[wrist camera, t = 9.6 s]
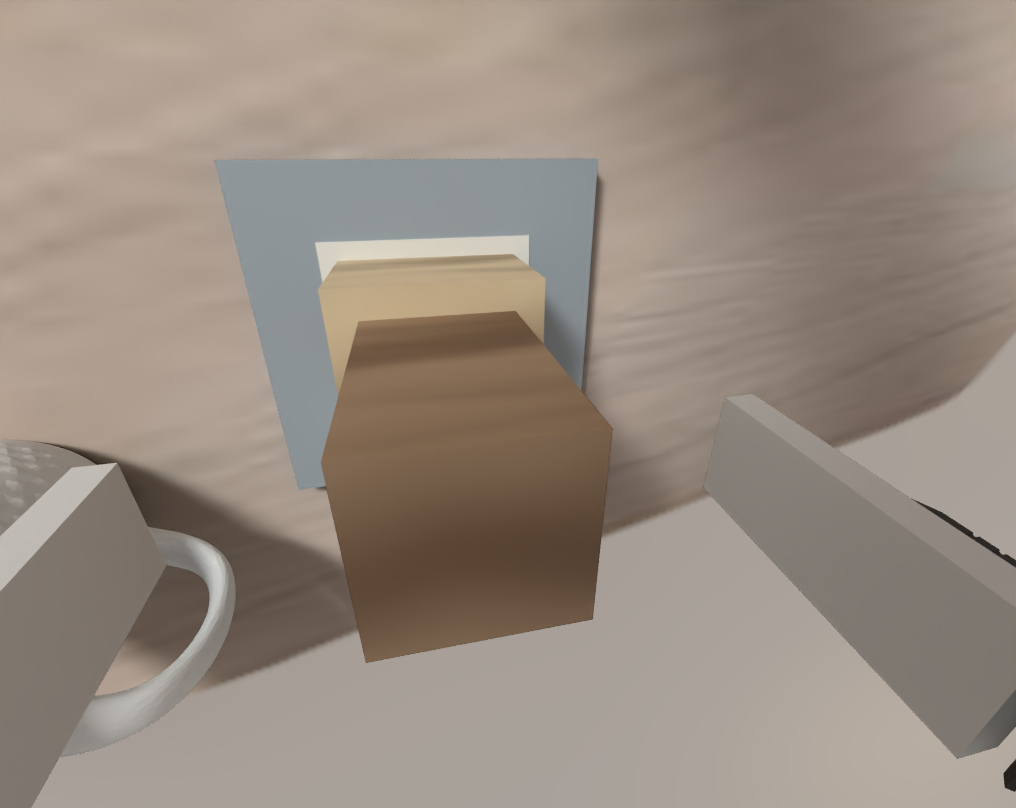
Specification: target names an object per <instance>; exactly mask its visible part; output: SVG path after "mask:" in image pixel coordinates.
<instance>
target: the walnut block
mask: <svg viewBox="0 0 1016 808" xmlns="http://www.w3.org/2000/svg"><path fill="white" fill-rule="evenodd" d="M612 430H613V428H612V427H611V426H610V425H609V423H608V422H607V421H606V420H605V419H604V417H603V416H602V415H601V414H600V413H599V411H598V410H597V409H596V408H595V406H594V405H593V404H592V403H591V402H590V400H589V399H588V398H587V397H586V396H585V394H584V393H583V392H582V391H581V390H580V388H579V387H578V386H577V385H576V383H575V382H574V381H573V380H572V379H571V377H570V376H569V375H568V374H567V373H566V371H565V370H564V369H563V368H562V366H561V365H560V364H559V363H558V362H557V360H556V359H555V358H554V357H553V356H552V354H551V353H550V352H549V351H548V350H547V348H546V347H545V346H544V345H543V343H542V342H541V341H540V340H539V339H538V337H537V336H536V335H535V334H534V333H533V331H532V330H531V329H530V328H529V326H528V325H527V324H526V323H525V322H524V320H523V319H522V318H521V317H520V316H519V314H518V313H517V312H516V311H506V312H490V313H475V314H460V315H445V316H430V317H415V318H400V319H385V320H369V321H358V325H357V328H356V332H355V336H354V339H353V343H352V347H351V351H350V354H349V358H348V362H347V366H346V369H345V373H344V377H343V381H342V384H341V388H340V392H339V395H338V399H337V403H336V407H335V410H334V414H333V418H332V422H331V425H330V429H329V433H328V437H327V440H326V444H325V448H324V451H323V455H322V459H321V467H322V471H323V476H324V480H325V485H326V489H327V493H328V498H329V502H330V507H331V511H332V515H333V520H334V524H335V529H336V533H337V537H338V542H339V546H340V551H341V555H342V559H343V564H344V568H345V573H346V577H347V581H348V586H349V590H350V595H351V599H352V604H353V608H354V612H355V617H356V621H357V626H358V630H359V634H360V639H361V643H362V648H363V652H364V656H365V661H366V663H368V662H373V661H378V660H383V659H389V658H394V657H399V656H404V655H410V654H415V653H420V652H425V651H430V650H436V649H440V648H445V647H451V646H456V645H462V644H467V643H472V642H477V641H482V640H488V639H493V638H498V637H503V636H508V635H514V634H519V633H524V632H529V631H534V630H540V629H544V628H550V627H555V626H560V625H565V624H571V623H576V622H581V621H587V620H592V619H593V611H594V602H595V592H596V582H597V572H598V563H599V554H600V544H601V535H602V526H603V516H604V507H605V497H606V488H607V478H608V468H609V459H610V449H611V440H612Z"/></svg>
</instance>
